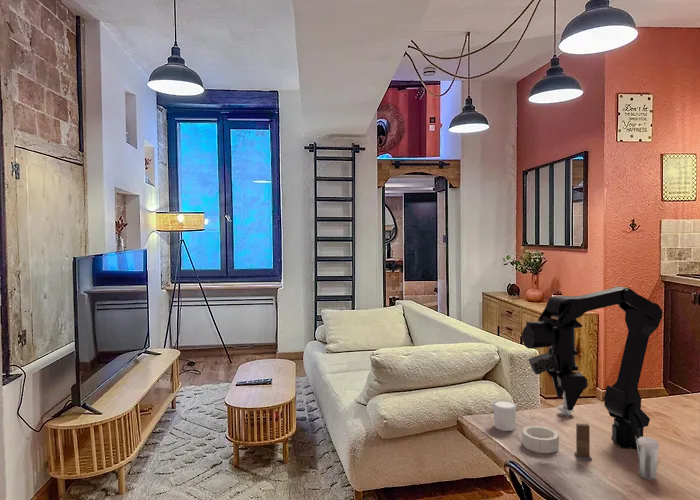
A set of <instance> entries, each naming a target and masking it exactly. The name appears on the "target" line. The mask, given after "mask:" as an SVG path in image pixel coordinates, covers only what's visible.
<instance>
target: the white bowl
mask: <svg viewBox="0 0 700 500" xmlns="http://www.w3.org/2000/svg"><path fill="white" fill-rule="evenodd" d="M559 436H560V435H559V434H558V432H557V431H556V430H554V429H553V428H551V427H546V426H541V425H529V426H525V427H524V428H522V430H521V443H522V446H523V447H524V448H525V449H527V450H529V451H531V452H533V453H536V454H537V453H539V454H554V453H556V452H558V451H559V449H560V447H559V446H560V443H559V442H560V437H559Z"/></svg>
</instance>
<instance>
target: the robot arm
mask: <svg viewBox="0 0 700 500" xmlns="http://www.w3.org/2000/svg"><path fill="white" fill-rule="evenodd" d="M616 305H618V307H619V309H621V310H622V311H623V312H625V314H624V320H625V324H626V326H627V327H626V328H627V331H628V332H627V337H626V340H625V344H624V349H623V354H622V358H621V361H620V366H619V371H618V375H617V379H616V381H615V383H614V384H612V386H610V385H606V387H605V393H604V396H603V398H602V400H604V403H603V404H604V405H603V406H604V407H605V408H606V410H607V411H608V415H609V417H612V418H613V424H612V425H611V432H612V433H611V437H610V438H611V439H612V440H613V442H615V443H616V444H617V445H618V446H619V447H620V448H622V449H637V444H636V438H637V439H638V438H640V437H644V428H645V427H648V426H649V425H650V420H651V419H650V417H649V416H648V415H647V413H645V411H643V410H642V397H641V394H640V391H639V387H638V386H639V383H640V378H641V374H642V371H643V365H644V362H645V361H644V360H645V357H646V352H647V348H648V343H649V339H650V336H651V335H652V334H653V333H654V332H655V331H656V330H657V329H658V328H659V325H660V324H661V320H662V318H663V309H662V308H661V307H660V305H659V304H658V303H656V302H652V301H651V300H649V299H648V298H646V297H644V296H642V295H641V294H638V293H637V292H636V291H634V290H633V289H632V288H629V287H625V286H613V288H609V289H604V290H599V291H595V292H590V293H586V294H582V295H577V296H573V295H554V296H552V297H550V298H548V301H547V303H546V306H545V307H544V309H543V311H542V312H541V314H540V316H539V317H538V320H537V321H526V323H525V326H524V327H523V329H522V333H521V340H522V343H523V344H524V346H525V348H527V349H528V350H529V349H530V350H531V349H540V348H541V349H542V348H547V352H545V353H541V354H538V355H535V356H533V357H530V358H528V362H529V365H530V368H531V370H532V372H534V374H535V375H540V374H542V373H544V372H547V374H548V375H549V376H550V377H551V379H552V383H553V386H554V389H555V393H556V396H557V398H563V393H564V395H565V400H566V405H567V409H568V410H573V408H574V409H575V405H576V404H577V401H578V400H579V398H580V396H581V395H582V393H583V392H584V390H586V388H588V387H589V386H588V384H589V383H588V382H589V381H588V379H587V378H586V377H585V376H584V375H583V374H582V373H581V372H580V371H579V367H578V365H577V364H576V356H578V350H577V349H576V344H575V343H576V342H575V341H576V336H575V334H576V333H575V329H576V328H578V329H579V328H582V327H583V324H581V323H580V322H579V321H578V320H577V319H579V318H581V317H582V316H583V315H584V314H585V313H587V312H590V311H594V310H599V309H603V308H608V307H611V306H616ZM635 436H636V438H635Z"/></svg>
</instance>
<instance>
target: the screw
mask: <svg viewBox="0 0 700 500" xmlns="http://www.w3.org/2000/svg"><path fill="white" fill-rule="evenodd" d="M557 409H558V411H560V415H562V416H564V417H569V416H571V414H572V413H573V412H575V407H574V408H573V410H568V409H567V405H566V400H565V395H564V393H563V395H562V404H560V405H558V406H557Z"/></svg>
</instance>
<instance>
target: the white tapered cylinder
mask: <svg viewBox="0 0 700 500" xmlns="http://www.w3.org/2000/svg"><path fill="white" fill-rule="evenodd" d="M517 407H518V406H517V404H516V403H515V402H513V401H510V400H496V401H493V402H492V409H493V419H494V427H495V429H498V430H500V431H503V432H510V431H511V432H512V431H514V430H515V429H516V417H517Z"/></svg>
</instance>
